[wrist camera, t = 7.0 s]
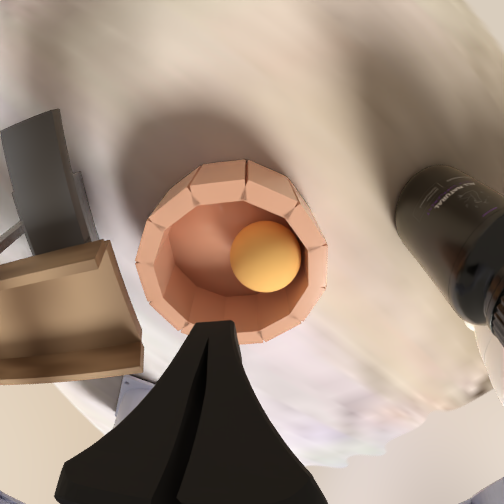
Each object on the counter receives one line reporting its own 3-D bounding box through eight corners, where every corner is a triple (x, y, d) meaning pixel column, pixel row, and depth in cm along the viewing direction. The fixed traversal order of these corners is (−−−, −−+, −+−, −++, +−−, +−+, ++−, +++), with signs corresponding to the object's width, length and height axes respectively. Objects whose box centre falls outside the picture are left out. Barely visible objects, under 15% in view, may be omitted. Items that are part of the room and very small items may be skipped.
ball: (277, 317, 17) (242, 285, 20) (325, 265, 18) (284, 241, 21) (238, 278, 15) (204, 247, 18) (296, 218, 15) (253, 198, 18)
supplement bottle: (419, 144, 17) (561, 219, 7) (480, 188, 18) (594, 271, 8) (374, 233, 20) (464, 365, 10) (439, 263, 21) (523, 373, 11)
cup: (270, 317, 23) (274, 361, 19) (142, 270, 21) (122, 310, 17) (339, 201, 19) (362, 232, 15) (189, 135, 17) (171, 148, 13)
